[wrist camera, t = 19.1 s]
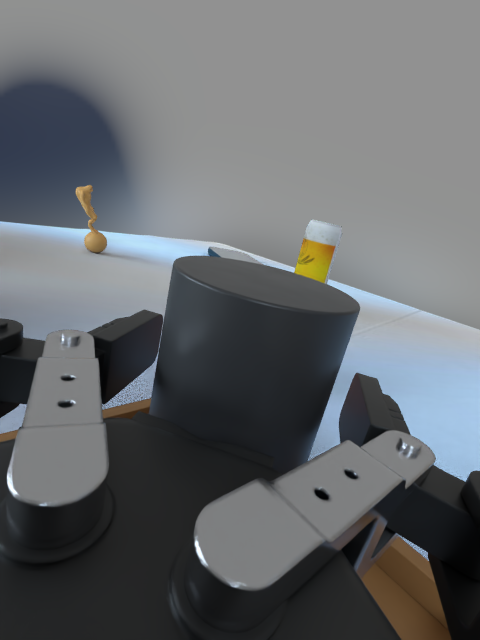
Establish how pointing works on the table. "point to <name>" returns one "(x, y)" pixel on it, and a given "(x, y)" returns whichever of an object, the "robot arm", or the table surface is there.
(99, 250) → the figurine
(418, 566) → the tray
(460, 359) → the table surface
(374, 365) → the table surface
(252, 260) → the external hard drive
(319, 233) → the beer can
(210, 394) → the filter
